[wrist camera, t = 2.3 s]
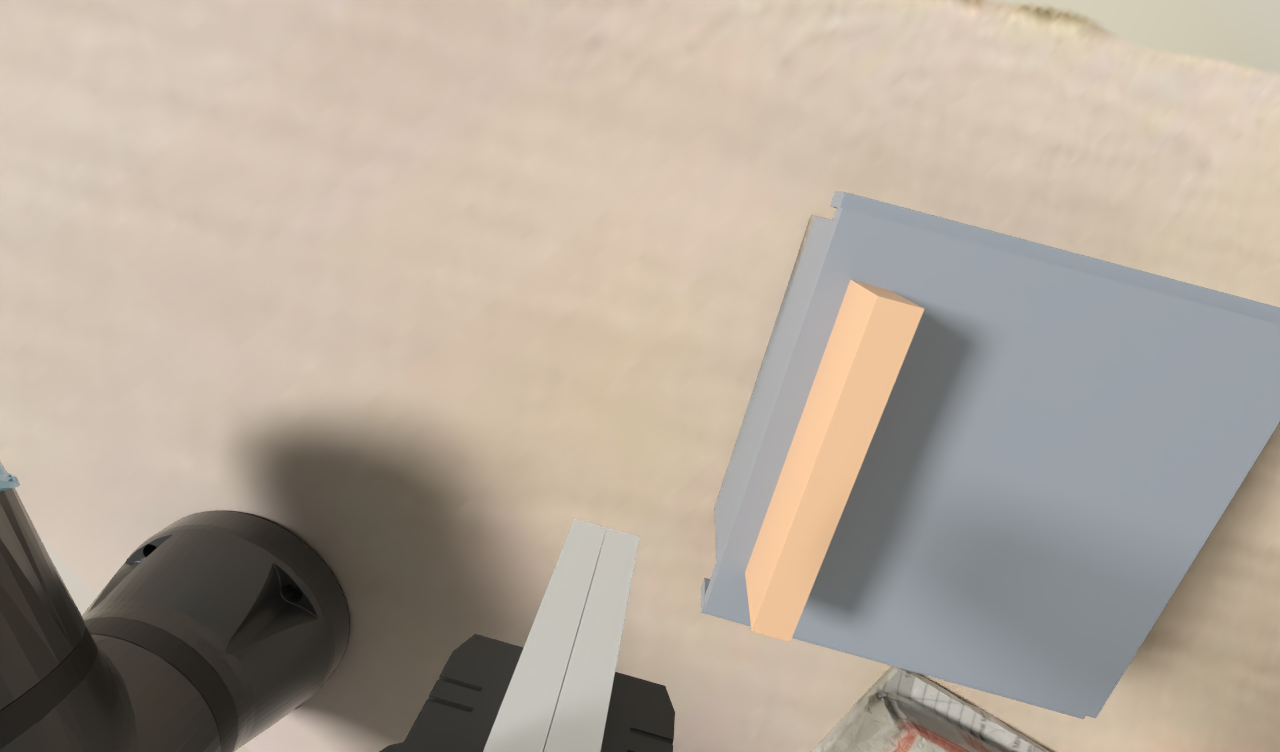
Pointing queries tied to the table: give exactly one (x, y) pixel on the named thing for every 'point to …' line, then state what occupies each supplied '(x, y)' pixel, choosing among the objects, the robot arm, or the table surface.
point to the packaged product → (920, 721)
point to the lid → (992, 456)
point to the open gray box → (770, 372)
